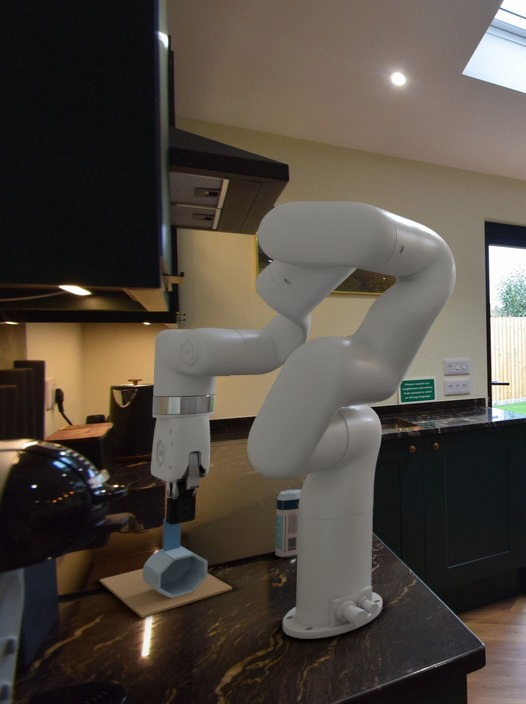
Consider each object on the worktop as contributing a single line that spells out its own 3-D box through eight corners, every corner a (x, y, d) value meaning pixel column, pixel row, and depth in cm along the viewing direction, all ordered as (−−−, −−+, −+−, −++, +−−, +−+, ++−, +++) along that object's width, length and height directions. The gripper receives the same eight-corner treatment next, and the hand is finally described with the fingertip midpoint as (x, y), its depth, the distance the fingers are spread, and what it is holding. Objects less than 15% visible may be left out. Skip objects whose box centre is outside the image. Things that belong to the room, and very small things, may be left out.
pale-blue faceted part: (141, 591, 83) (143, 521, 83) (190, 578, 88) (192, 511, 89) (156, 603, 79) (158, 529, 80) (206, 588, 85) (208, 518, 85)
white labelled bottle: (311, 550, 103) (312, 488, 103) (292, 559, 98) (294, 495, 98) (288, 549, 103) (290, 488, 103) (269, 558, 98) (270, 494, 99)
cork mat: (232, 589, 85) (232, 587, 85) (141, 618, 76) (141, 615, 76) (183, 560, 97) (183, 558, 97) (99, 581, 88) (99, 579, 88)
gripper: (138, 405, 84) (133, 519, 84) (170, 411, 76) (166, 538, 76) (196, 402, 91) (192, 508, 90) (232, 407, 83) (228, 524, 82)
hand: (180, 521), depth 83 cm, fingers closed
